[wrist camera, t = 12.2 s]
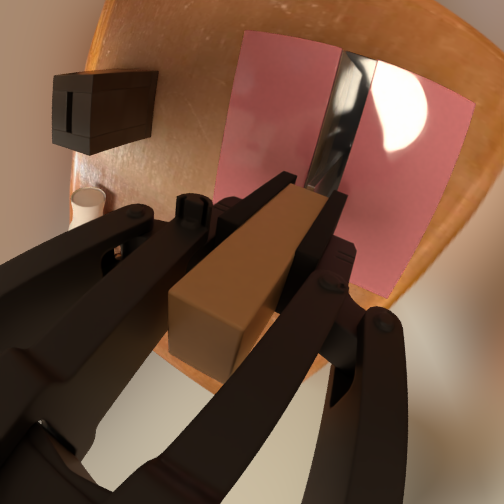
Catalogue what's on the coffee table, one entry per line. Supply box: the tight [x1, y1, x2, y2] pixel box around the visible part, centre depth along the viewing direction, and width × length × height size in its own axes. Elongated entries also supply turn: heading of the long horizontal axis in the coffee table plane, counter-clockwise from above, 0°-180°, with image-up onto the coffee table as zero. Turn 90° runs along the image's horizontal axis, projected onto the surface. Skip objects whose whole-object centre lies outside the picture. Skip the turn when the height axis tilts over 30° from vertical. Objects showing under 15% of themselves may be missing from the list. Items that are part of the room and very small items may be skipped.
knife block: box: [52, 69, 158, 156], centre depth 26 cm, size 8×8×9 cm
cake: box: [213, 30, 476, 299], centre depth 20 cm, size 16×16×9 cm
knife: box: [168, 152, 344, 384], centre depth 14 cm, size 3×2×19 cm, turn 168°
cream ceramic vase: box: [68, 187, 106, 231], centre depth 38 cm, size 7×7×10 cm
